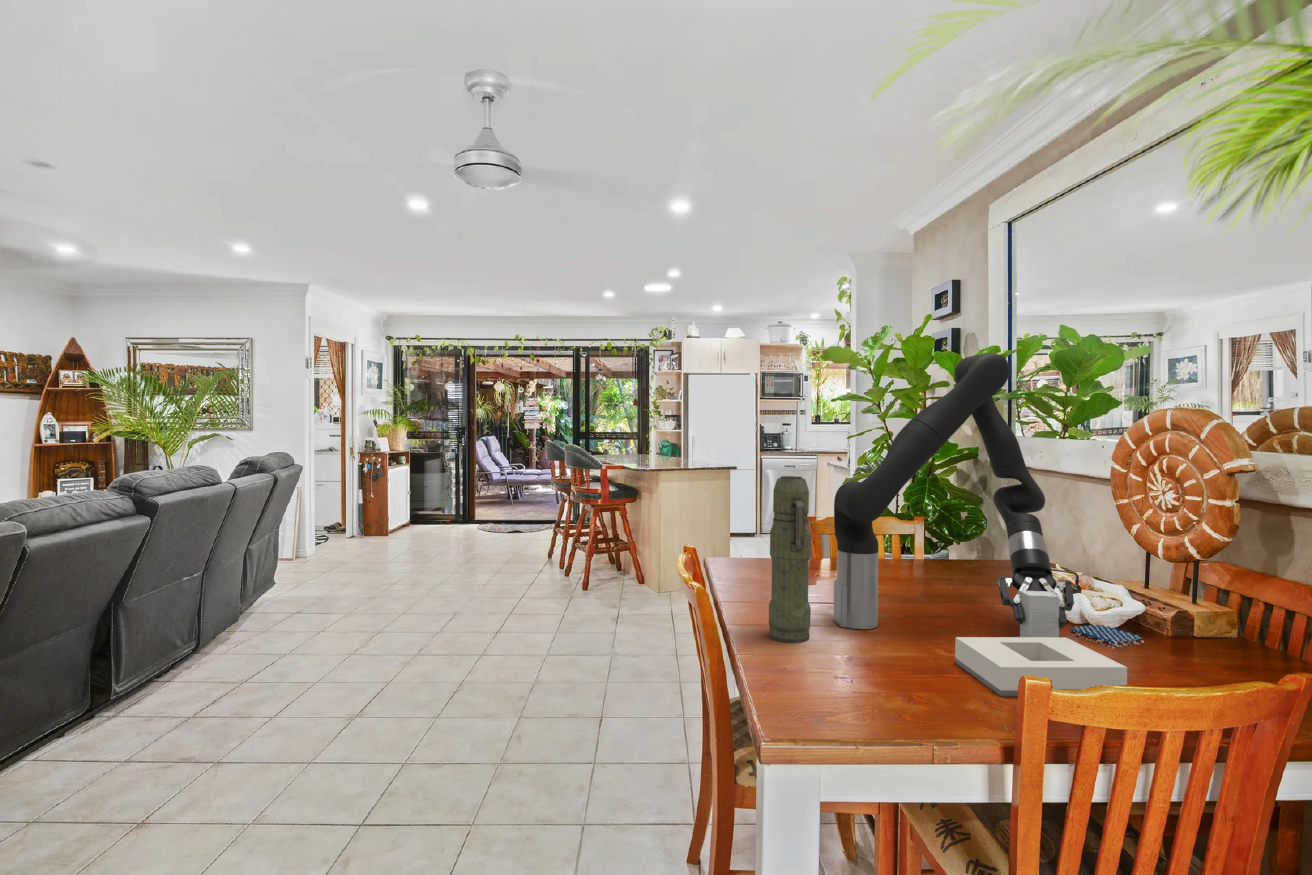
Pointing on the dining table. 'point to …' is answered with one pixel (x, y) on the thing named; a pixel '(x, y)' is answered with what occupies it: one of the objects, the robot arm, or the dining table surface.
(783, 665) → the dining table surface
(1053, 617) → the skincare box
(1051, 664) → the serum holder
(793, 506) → the thermos
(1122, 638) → the woven mat
